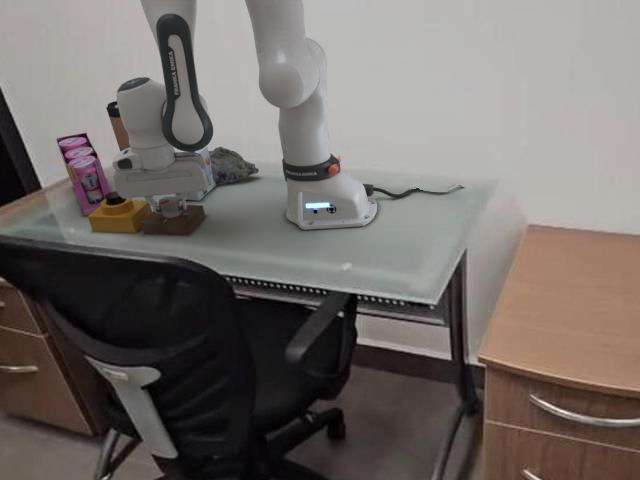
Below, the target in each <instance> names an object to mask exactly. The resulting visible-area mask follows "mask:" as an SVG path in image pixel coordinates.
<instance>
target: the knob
mask: <svg viewBox="0 0 640 480" xmlns="http://www.w3.org/2000/svg"><path fill="white" fill-rule="evenodd" d="M179 201H180V199H178V198H177V197H176V196H174V195H173V196H172V195H171V196H166V197H162V198H161V199H160V200H159V201H158V203H159V205H160V208H161V211H162V215H163V217H165V218H173V217H177V216H179V215H180V214H181V213H182V210H180V209H179V208H180V207H179V205H178V203H179Z"/></svg>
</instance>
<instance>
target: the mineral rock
mask: <svg viewBox="0 0 640 480" xmlns="http://www.w3.org/2000/svg"><path fill="white" fill-rule="evenodd" d="M208 151H209V156H210V160H211V170H212V176H213V181H214V182H215V183H216V185H223V184H227V183H234V182H239V181H243V180H244V179H246V178H249V177H250V176H252V175H255V174H258V173H259V172H260V169H259V168H257V167H256V165H255V164H254V163H252V162H249V161H247V160H245V159H244V158H243V156H242V155H240V153H238V152H237V151H234V150H231V149H229V148H225V147H223V146H218V147H215V148H214V149H213V150H208Z"/></svg>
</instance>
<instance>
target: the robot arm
mask: <svg viewBox="0 0 640 480" xmlns="http://www.w3.org/2000/svg"><path fill="white" fill-rule="evenodd" d="M244 2H245V6H246V9H247V12H248V15H249V19H250V23H251V28H252V33H253V40H254V47H255V52H256V58H257V65H258V87H259V90H260V93H261V95H262V96H263V98H264V99H265V100H266V101H267V102H268V103H269V104H270V105H272V106H273V107H276V108H278V109H279V113H278V114H279V115H278V116H279V117H278V123H277V128H278V129H277V130H278V134H279V141H280V146H281V147H280V148H281V152H282V157H283V158H282V159H281V163H282V172H283V176H284V181H285V182H286V195H287V196H286V197H287V199H286V200H287V201H286V210H285V211H286V212H285V217H286V219H287V220H288V221H290V222H292V223H294V224H296V225H297V226H298V227H299V228H300V229H301V230H305V231H306V230H307V231H308V230H322V229H324V230H325V229H339V228H340V229H341V228H356V227H364V226H366V225H368V224H369V223H371V222H372V221H373V220H374V218H375V216H376V215H377V212H378V203H377V201H376V199H375V198H373V197H372V196H373V195H374V194H375V192H378V193H382V194H384V195H386V196H387V197H388V196H389V197H391V198H395V199H399V198H400V199H401V198H405V197H406V196H408V195H409V194H411V193H413V192H424V191H423V190H420V189H419V188H416V187H415V188H416V189H411V188H409V189H407V190H406V191H404V192H402V193H399V194H398V193H392V192H390V191H389V190H386V189H384V188H380V187H374V184H371V183H370V184H368V183H363V182H362V181H360V180H358V179H357V178H355V177H354V176H352V175H351V174H349V173H348V172H345V171H344V170H343V169H341V160H342V159H341V155H339V156H338V157H336V156H334V155H333V154H332V153H331V145H330V137H329V128H328V127H329V126H328V85H327V84H328V83H327V82H328V81H327V68H328V67H327V62H328V60H327V55H326V52H325V50H324V48H323V47H322V45H321V44H320V43H319V42H317V41H316V40H315V39H312V38H310V37H307V36H306V28H305V17H304V15H305V14H304V13H305V11H304V8H305V7H304V4H303V0H244ZM140 4H141V8H142V10H143V13H144V15H145V19H146V21H147V23H148V27H149V28H150V31H151V33H152V35H153V38H154V41H155V43H156V47H157V49H158V53H159V57H160V63H161V68H162V75H163V76H162V77H163V81H164V84H162V83H161V82H158V81H155V80H153V79H152V78H150V77H147V76H141V77H135V78H132V79H129V80H127V81H125V82H123V83H121V85H120V86H119V87H118V89H117V91H116V93H115V94H116V95H115V97H116V101H117V104H118V108H119V112H120V116H121V120H122V123H123V126H124V128H125V129H126V131H127V133H128V135H129V145H130V148H127V149H125V150H122V151H120V150H119V152H118V153H117V154H115V156H114V158H113V160H112V162H111V164H112V167H113V169H114V172H113V182H114V186H115V191H117V193H118V195H119V196H120V197H122V198H123V199H125V198H132V199H135V198H144V201H147V202H148V203H149V204H150V206H151V207H152V208H153V209H152V210H153V211H154V212H155V213H157V212H162V211H161V208H160V205H159V202H157V201H156V200H155V199H154V198H153V197H154V196H155V197H156V196H166V195H176V194H177V193H180V195H181V197H183V196H184V198H183V200H179V203H178V205H179V207H180V208H179V209H180V210H186V209H187V205H188V204H187V200H186V199H187V196H188V192H198V191H206V189H207V188H208V186H209V179H208V176H207V173H206V170H205V161H204V158H203V156H202V155H201V154H199V153H196V152H195V151H199V150H201V149H203V148H204V147H208V145H209V144H210V142H211V141H212V139H213V136H214V125H213V122H212V119H211V117H210V113H209V109H208V105H207V102H206V100H205V98H203V96H202V95H201V94H200V91H199V85H198V79H197V78H198V77H197V71H196V64H195V54H194V52H195V51H194V50H195V36H196V26H197V25H196V24H197V16H198V15H197V13H198V0H140ZM175 149H176V150H178V151H179V150H181V151H185V152H178V151H176V150H175ZM196 154H197V155H196ZM410 189H411V190H410Z"/></svg>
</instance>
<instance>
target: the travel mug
mask: <svg viewBox="0 0 640 480" xmlns="http://www.w3.org/2000/svg"><path fill="white" fill-rule="evenodd" d="M105 109H106V110H107V114H108V118H109V120H110V124H111V127H112V130H113V134H114V136H115V140H116V143H117V146H118V148H119V152H120V151H122V150H125V149H127V148H130V145H129V135H128V133H127V131H126V129H125V128H124V126H123V123H122V120H121V116H120V112H119V108H118V104H117V100H114V101H112V102H109V103H108V104H107V106H106V107H105Z"/></svg>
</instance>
